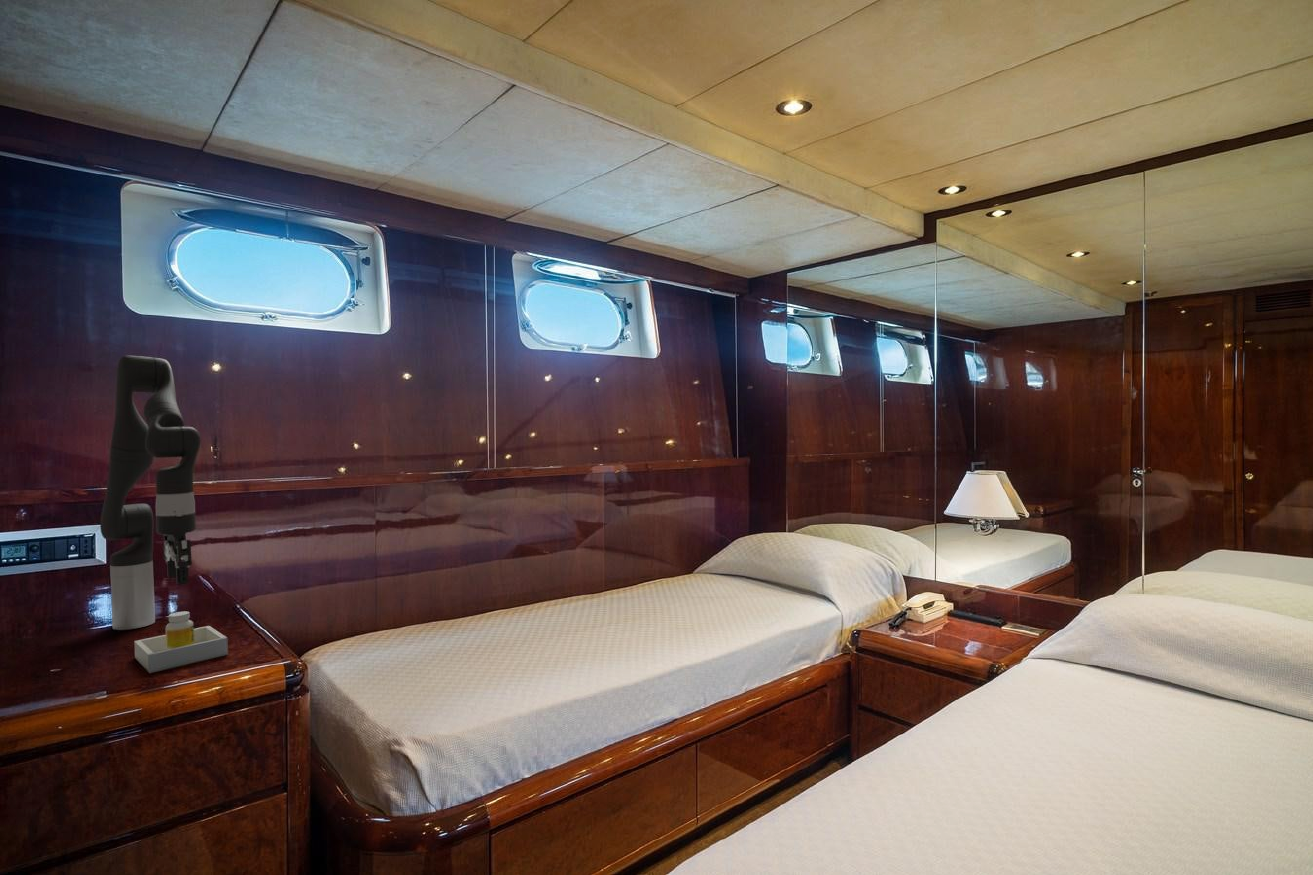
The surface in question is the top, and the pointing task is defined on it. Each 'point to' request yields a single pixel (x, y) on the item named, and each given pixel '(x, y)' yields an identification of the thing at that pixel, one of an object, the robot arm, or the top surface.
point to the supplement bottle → (179, 630)
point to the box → (180, 650)
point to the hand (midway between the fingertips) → (178, 581)
